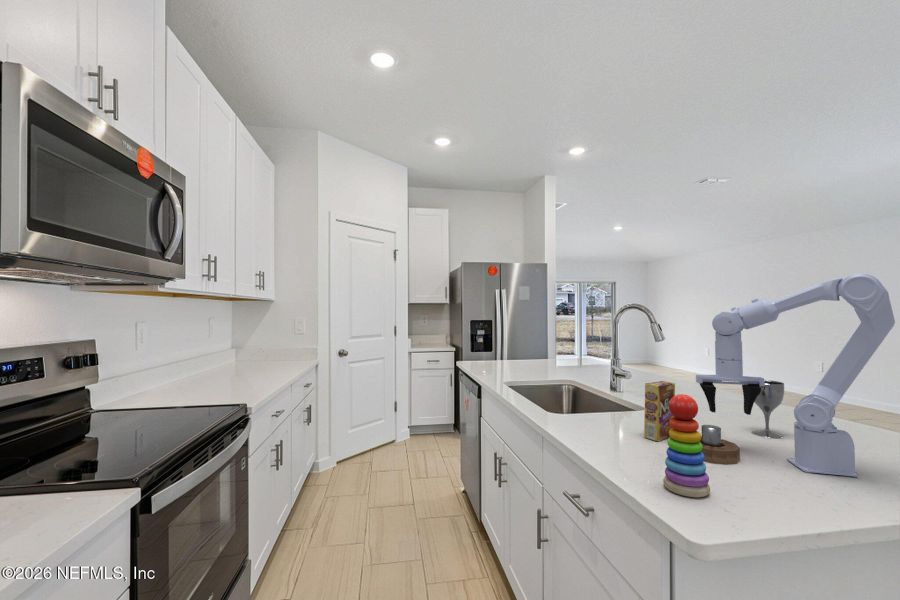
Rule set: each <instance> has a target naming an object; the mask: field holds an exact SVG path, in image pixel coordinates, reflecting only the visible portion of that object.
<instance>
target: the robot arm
mask: <svg viewBox="0 0 900 600" xmlns="http://www.w3.org/2000/svg"><path fill="white" fill-rule="evenodd" d="M840 297H841V298H842V299H843V300H845V301H846V303H848V304H849V305H850V306H851V307H852V308H853V309H854V312H855V313H856V315H857V317H858V319H859V321H860V323H859V325H858V327H857V328H856V329H855V331H854V332H853V334H852V335H851V336H850V338H849V340H848V341H847V343H846V344H845V345H844V347H843V348H842V349H841V351H840V352H839V354H838V355H837V357H836V358H835V359H834V361H833V362H832V364H830V367H829V368H828V369H827V371H826V372H825V374H824V375H823V377H822V378H821V379H820V381H819V382H818V384H817V385H816V387H815V388H814V390H813V391H812V392H811V393H810V394H809V395H807V396H805V397H803V398H801V400H800V401H799V403H797V404H796V405H795V407H794V410H793V416H794V419H795V420H796V421H794V422H793V425H794V426H793V435H794V457H786V460H787V461H788V462H789V463H791V464H792V465H794V466H795V467H797V468H799V469H800V470H801V471H802V472H805V473H811V474H812V473H813V474H824V475H835V476H837V475H838V476H843V477H844V476H847V477H853V478H854V477H855V478H856V477H857V478H858V477H859V474H857V473H856V455H855V453H856V452H855V451H856V450H855V442H854V439H853V437H852V435H851V434H850V433H848V431H846V430H843V429H838V427H837V426H835V425H834V424H833V418H834V417H835V416H836V414H835V413H836V407H837V406H838V404H839V403H840V401H841V400H842V398H843V397H844V395H846V393H847V391H848V389H850V387H851V386H852V384H853V382H854V381H855V380H856V379H857V377H859V374H860V373H861V372H862V370H863V369H864V367H865V366H866V365H867V364H868V362H869V361H870V359H871V358H872V356H873V355H874V354H875V352H877V350H878V348H879V347H880V346H881V344H882V343H883V341H884V340H885V339H886V338H887V336H888V334H889V333H890V332H891V330H892V329H893V327H894V326H895V323H896V320H895V316H894V313H893V308H892V304H891V299H890V295H889V291H888V290H887V288H886V287H885V286H884V285H883V284H882V282H881V281H880V279H878V278H877V277H875V276H874V275H871V274H868V273H860V272H859V273H853V274H851V275H848V276H846V277H845V278H842V277H838V278H834V279H831V280H827V281H823V282H820V283H817V284H815V285H812V286H810V287H807V288H803V289H802V290H798V291H795V292H794V293H791V294H788V295H785V296H783V297H780V298H778V299H774V300H770V299H767V298H762V299H761V298H760V299H759V298H754V299H751V302H750V303H747V304H745V305H742V306H739V307H736V306H734V307H730V312H729V311H720V313H718V314H717V315H715V316H714V317H713V319H712V321H711V323H712V324H711V325H712V328H713V330H714V331H715V335H714V336H715V339H714V351H715V352H714V354H715V355H714V358H715V361H714V363H715V366H714V367H715V374H695V383H697V384H699V386H700V388H701V389H702V391H703V393H704V395H705V398H706V401H707V404H708V408H709V412H711V413H716V410H717V409H716V391H717V387H716V386H715V384H718V385H719V384H720V385H721V384H722V385H740V386H741V389H742V394H743V413H744V414H746V415H748V416H751V415H752V411H753V410H752V409H753V407H754V404H755V400H756V398H757V396H758V395H759V393H760V392H761V387H759V386H764V380H765V378H763V377H761V376H747V375H744V374H743V373H744V371H743V370H744V369H743V364H744V362H743V361H744V360H743V340H742V331H743V330H750V329H753V328H757V327H759V326H762V325H766V324H768V323H772V322H776V321H777V319H778V317H779V315H780V314H781V313H784V312H786V311H790V310H794V309H797V308H800V307H804V306H806V305H810V304H813V303H816V302H819V301H835V302H836V301H837V302H839V301H840Z"/></svg>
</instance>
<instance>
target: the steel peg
mask: <svg viewBox="0 0 900 600" xmlns="http://www.w3.org/2000/svg"><path fill="white" fill-rule="evenodd" d="M701 436H702V444H703V445H707V446H711V447H721V439H722V427H720V426H717V425H712V424H702V425H701Z"/></svg>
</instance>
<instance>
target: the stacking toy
mask: <svg viewBox="0 0 900 600" xmlns="http://www.w3.org/2000/svg"><path fill="white" fill-rule="evenodd" d="M669 410H670V412H671V414H672V415H673V416H674V417H673V418H671V419H670V421H669V424H670V426H671V427H672V428H671V429H670V430H669V435H670V438H667V442H666V443H667V446H668V447H667V449H666V451H665V452H666V458H665V461H664V463H665V466H666V467H665V469H664V474H665V475H664V476H663V479H662V480H663V481H662V482H663V485H664V486H665V488H667V489H668V490H669V491H671V492H672V493H675V494H677V495H679V496H684V497H690V498H703V497H706V496H708V495H709V494H710V493H711V485H709V481H710V477H709V475H708V473H707V472H706V471H707V466H706V464H705V461H704V454H703V453H702V452H701V450H702V444H701V442H700V440H701V436H702V433H700V432H699V430H698V429H699V427H700V426H699V422H698V421H697V420H696V419H694V418H695V417H696V416H697V415H698V413H699V406H698V403H697V401H696V400H695V399H694V398H693V397H692V396H689V395H687V394H682V393H681V394H677V395H676V394H675V396H674V397H672V398H671V399H670V401H669Z"/></svg>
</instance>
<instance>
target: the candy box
mask: <svg viewBox="0 0 900 600" xmlns="http://www.w3.org/2000/svg"><path fill="white" fill-rule="evenodd" d="M675 395H676V382H673V381H668V380H667V381H666V380H665V381H664V380H661V381H654V382H648V383H644V424H643V425H644V430H643V431H644V434H643V436H644V437H643V438H644V439H647V440H649V441H654V442H660V441H662V440H663V441H664V440H666V439H667V440H668V439H669V438H670V435H669V430H670V429H671V428H672V427H671V426H670V424H669V421H670V419H671V418H673V417H674V416H673V415H672V414H671V412H670V410H669V401H670V399H671V398H672V397H674V396H675Z"/></svg>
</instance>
